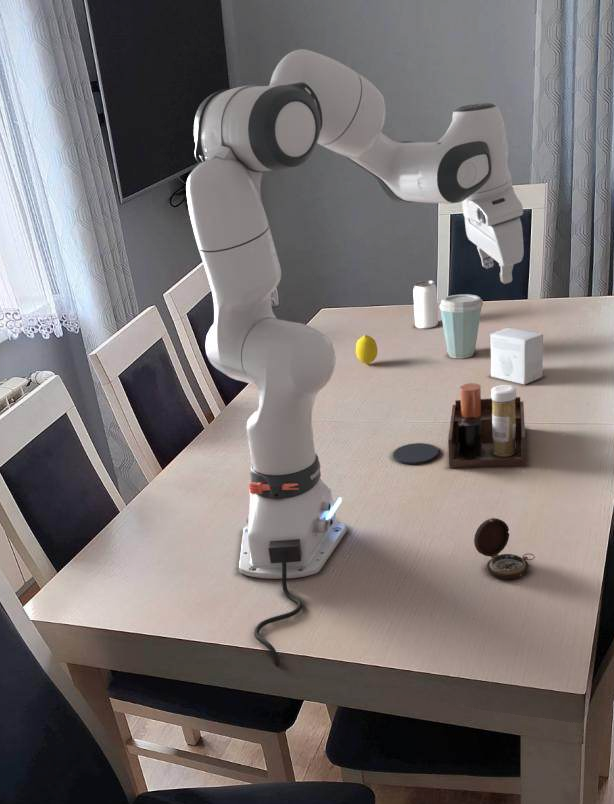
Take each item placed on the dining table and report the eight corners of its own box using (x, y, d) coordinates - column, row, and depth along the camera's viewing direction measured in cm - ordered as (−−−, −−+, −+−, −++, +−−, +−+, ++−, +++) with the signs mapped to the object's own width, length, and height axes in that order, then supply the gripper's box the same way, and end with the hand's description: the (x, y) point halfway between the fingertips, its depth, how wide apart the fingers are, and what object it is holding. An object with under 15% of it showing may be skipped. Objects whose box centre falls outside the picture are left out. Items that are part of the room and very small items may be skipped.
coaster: (437, 463, 172) (436, 461, 171) (391, 465, 174) (390, 462, 174) (439, 444, 179) (439, 442, 179) (395, 446, 182) (395, 444, 181)
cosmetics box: (543, 376, 202) (544, 332, 197) (524, 385, 199) (524, 341, 194) (508, 368, 210) (508, 325, 205) (489, 376, 207) (489, 333, 202)
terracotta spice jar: (481, 418, 175) (480, 390, 172) (460, 419, 176) (459, 391, 173) (481, 410, 178) (480, 382, 175) (461, 411, 179) (460, 383, 177)
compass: (504, 585, 132) (503, 544, 129) (473, 563, 139) (471, 523, 135) (547, 568, 135) (547, 527, 131) (514, 547, 141) (514, 508, 138)
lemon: (382, 361, 228) (379, 331, 224) (372, 369, 224) (370, 338, 220) (363, 360, 231) (360, 331, 227) (353, 367, 227) (350, 338, 223)
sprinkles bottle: (521, 451, 170) (521, 387, 164) (504, 459, 169) (504, 394, 162) (503, 445, 174) (502, 382, 167) (487, 453, 172) (485, 389, 165)
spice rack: (525, 465, 165) (525, 431, 162) (449, 468, 169) (448, 435, 166) (523, 428, 180) (523, 396, 176) (453, 431, 184) (452, 400, 180)
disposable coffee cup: (451, 346, 230) (449, 289, 222) (490, 349, 224) (490, 290, 216) (434, 360, 223) (431, 302, 215) (473, 363, 217) (472, 303, 209)
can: (415, 330, 247) (412, 287, 241) (415, 323, 252) (412, 281, 246) (438, 327, 245) (436, 285, 239) (438, 321, 251) (436, 279, 245)
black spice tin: (481, 458, 171) (481, 425, 167) (458, 459, 172) (457, 426, 168) (482, 448, 174) (481, 416, 171) (459, 449, 175) (458, 417, 172)
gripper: (451, 193, 163) (462, 263, 171) (490, 219, 146) (500, 296, 154) (484, 182, 163) (493, 253, 170) (526, 207, 146) (534, 285, 154)
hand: (497, 274), depth 162 cm, fingers open, 8 cm apart
